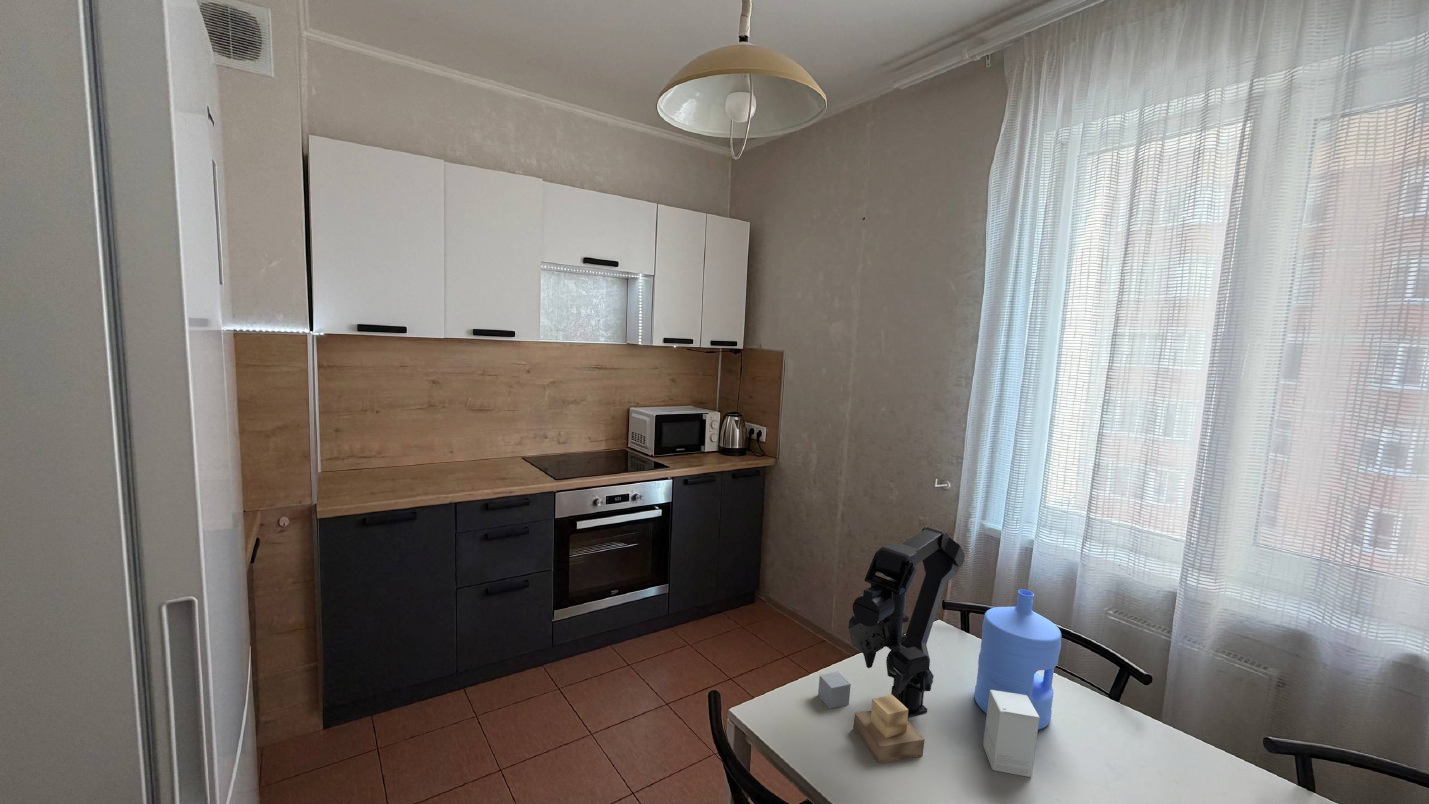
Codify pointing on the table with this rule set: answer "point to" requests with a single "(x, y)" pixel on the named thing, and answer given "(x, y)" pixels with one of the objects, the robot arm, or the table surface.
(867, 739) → the walnut block
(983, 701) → the water jug
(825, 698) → the grey cube
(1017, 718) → the supplement box
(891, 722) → the oak cube
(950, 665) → the table surface
